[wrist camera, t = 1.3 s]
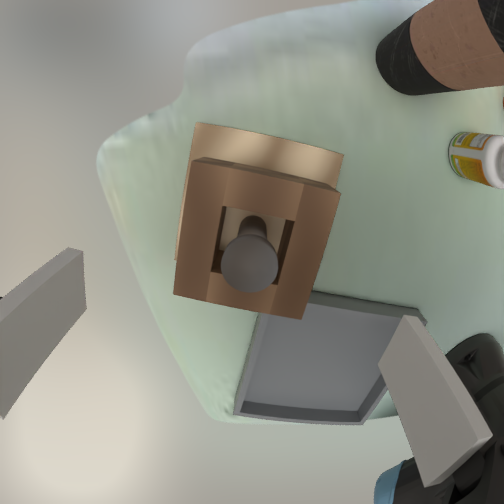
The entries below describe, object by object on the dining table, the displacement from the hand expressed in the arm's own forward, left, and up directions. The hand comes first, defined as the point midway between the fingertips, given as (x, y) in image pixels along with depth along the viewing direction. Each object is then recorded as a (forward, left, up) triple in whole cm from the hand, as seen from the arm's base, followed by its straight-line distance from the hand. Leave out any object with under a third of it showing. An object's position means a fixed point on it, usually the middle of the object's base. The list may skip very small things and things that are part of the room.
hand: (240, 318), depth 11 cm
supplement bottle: (-22, -12, -20) cm, 32 cm away
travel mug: (-12, -19, -20) cm, 30 cm away
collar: (0, 0, -12) cm, 12 cm away
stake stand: (0, 0, -20) cm, 20 cm away
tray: (-13, +18, -20) cm, 30 cm away
